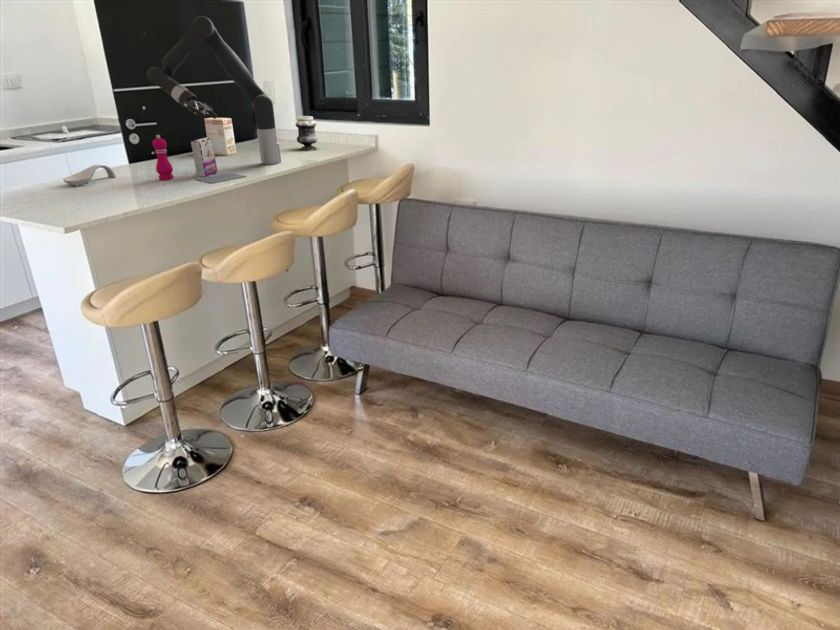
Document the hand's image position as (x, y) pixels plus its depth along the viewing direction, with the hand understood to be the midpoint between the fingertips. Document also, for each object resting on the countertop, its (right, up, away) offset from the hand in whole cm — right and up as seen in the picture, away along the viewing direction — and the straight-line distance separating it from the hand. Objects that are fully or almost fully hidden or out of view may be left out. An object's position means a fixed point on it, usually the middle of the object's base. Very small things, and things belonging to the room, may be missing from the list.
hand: (210, 116), depth 286 cm
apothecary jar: (+33, +4, +70) cm, 78 cm away
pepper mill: (-21, -29, +1) cm, 36 cm away
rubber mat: (+6, -29, -2) cm, 30 cm away
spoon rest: (-55, -31, -1) cm, 63 cm away
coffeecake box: (-14, -1, +63) cm, 65 cm away
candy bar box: (-4, -25, +7) cm, 27 cm away
